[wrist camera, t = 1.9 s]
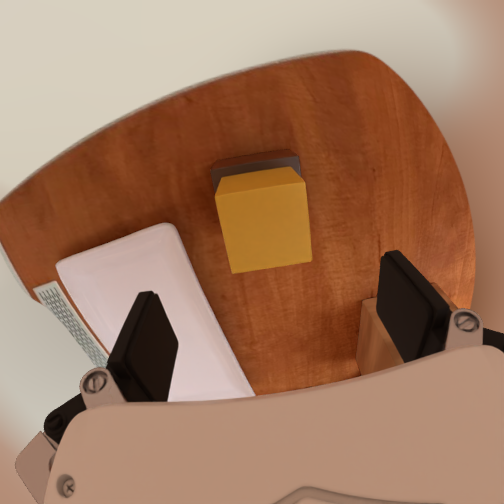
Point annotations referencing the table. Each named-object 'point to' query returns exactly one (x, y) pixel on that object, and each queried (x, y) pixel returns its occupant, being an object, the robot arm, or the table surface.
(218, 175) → the base block
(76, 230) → the table surface
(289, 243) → the top block
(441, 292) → the block
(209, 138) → the table surface
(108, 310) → the tray
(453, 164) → the table surface
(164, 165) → the table surface
